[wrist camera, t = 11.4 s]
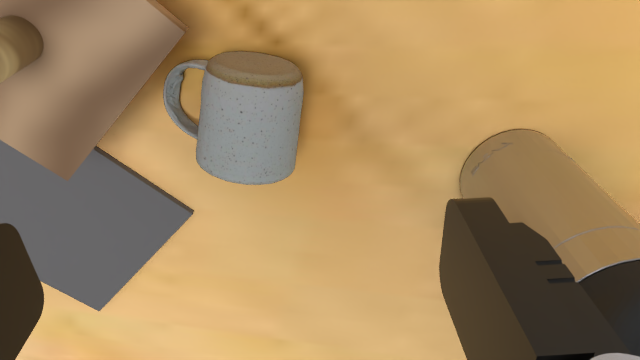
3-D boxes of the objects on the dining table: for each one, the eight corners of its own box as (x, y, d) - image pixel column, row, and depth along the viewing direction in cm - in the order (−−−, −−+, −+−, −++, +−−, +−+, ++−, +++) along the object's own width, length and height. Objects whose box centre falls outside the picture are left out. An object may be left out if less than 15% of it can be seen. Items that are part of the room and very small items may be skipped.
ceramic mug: (306, 53, 38) (307, 86, 31) (294, 146, 42) (293, 194, 35) (166, 35, 37) (137, 66, 30) (169, 133, 41) (143, 179, 34)
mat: (193, 210, 44) (192, 214, 44) (101, 307, 50) (99, 311, 49) (26, 100, 38) (22, 103, 38) (-58, 223, 44) (-63, 227, 43)
